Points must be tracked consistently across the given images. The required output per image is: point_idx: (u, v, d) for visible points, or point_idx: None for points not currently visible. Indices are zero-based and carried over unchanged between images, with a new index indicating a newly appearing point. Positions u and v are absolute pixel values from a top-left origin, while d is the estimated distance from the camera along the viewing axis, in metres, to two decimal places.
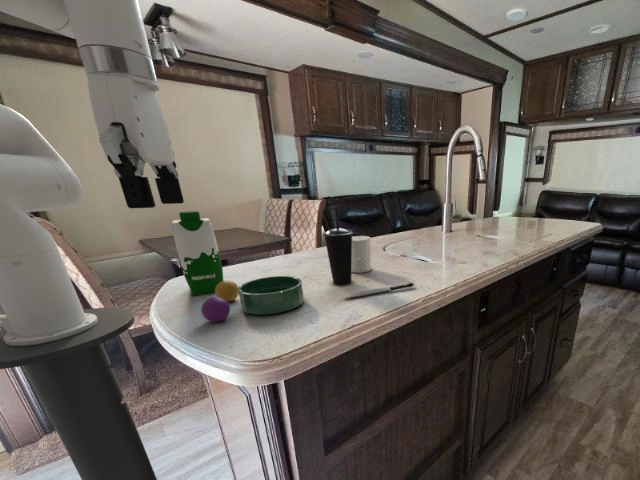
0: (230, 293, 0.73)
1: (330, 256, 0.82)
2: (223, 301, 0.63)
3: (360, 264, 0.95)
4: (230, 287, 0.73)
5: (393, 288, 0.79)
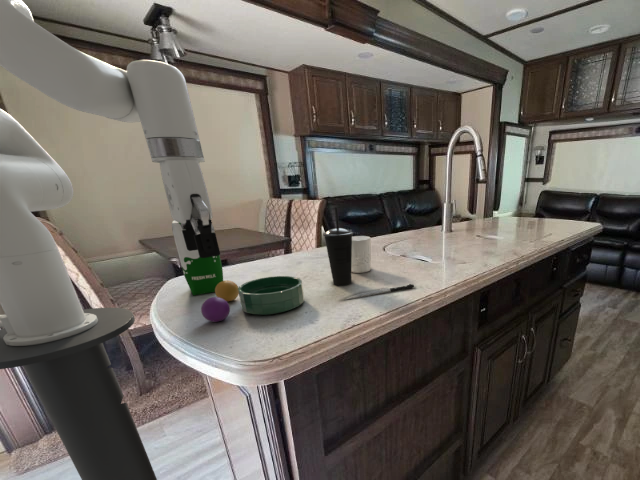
0: (230, 293, 0.73)
1: (330, 256, 0.82)
2: (223, 301, 0.63)
3: (360, 264, 0.95)
4: (230, 287, 0.73)
5: (393, 289, 0.79)
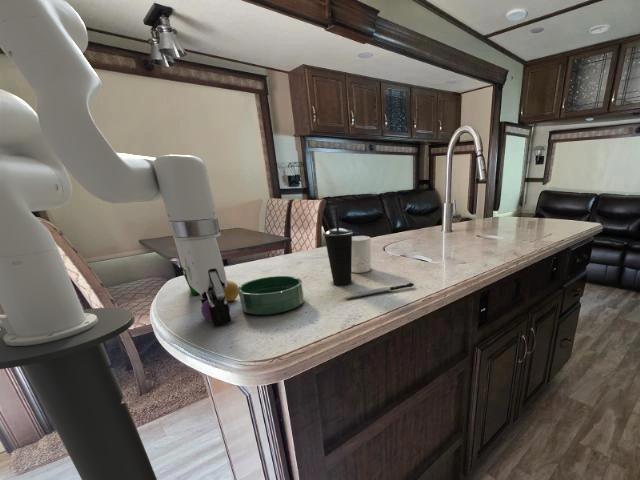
0: (230, 293, 0.73)
1: (330, 256, 0.82)
2: None
3: (360, 264, 0.95)
4: (230, 287, 0.73)
5: (393, 288, 0.79)
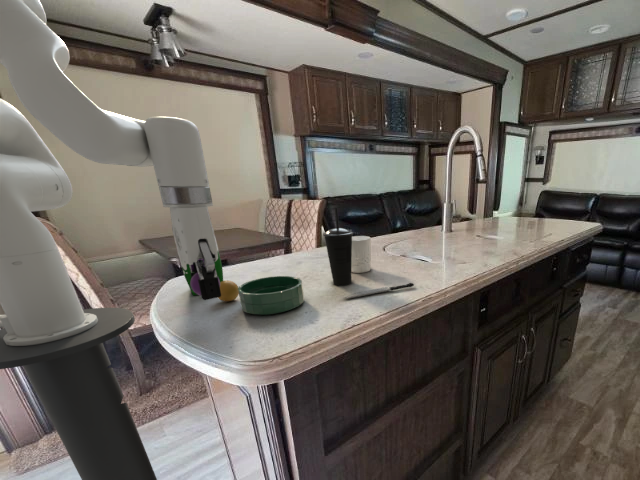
0: (230, 293, 0.73)
1: (330, 256, 0.82)
2: None
3: (360, 264, 0.95)
4: (230, 287, 0.73)
5: (393, 288, 0.79)
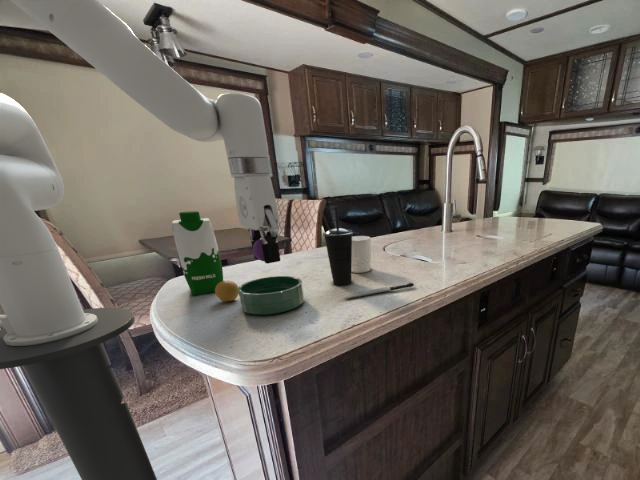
0: (230, 293, 0.73)
1: (330, 256, 0.82)
2: None
3: (360, 264, 0.95)
4: (230, 287, 0.73)
5: (393, 288, 0.79)
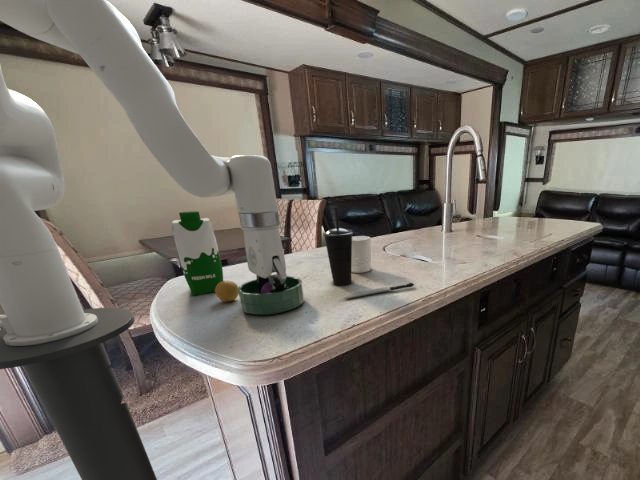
0: (230, 293, 0.73)
1: (330, 256, 0.82)
2: None
3: (360, 264, 0.95)
4: (230, 287, 0.73)
5: (393, 288, 0.79)
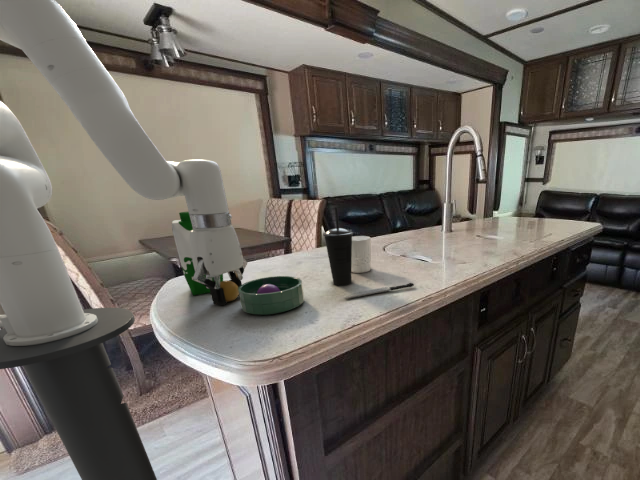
0: (230, 293, 0.73)
1: (330, 256, 0.82)
2: (274, 291, 0.68)
3: (360, 264, 0.95)
4: (230, 287, 0.73)
5: (393, 288, 0.79)
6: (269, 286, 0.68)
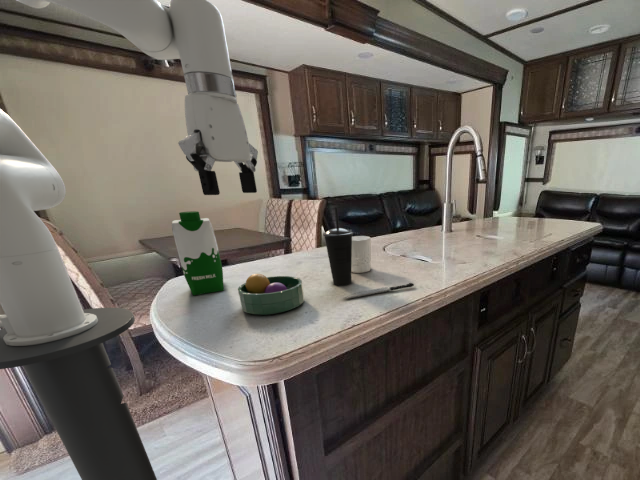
0: (251, 276, 0.69)
1: (330, 256, 0.82)
2: None
3: (360, 264, 0.95)
4: (248, 277, 0.70)
5: (393, 288, 0.79)
6: (283, 285, 0.70)
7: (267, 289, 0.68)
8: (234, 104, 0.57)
